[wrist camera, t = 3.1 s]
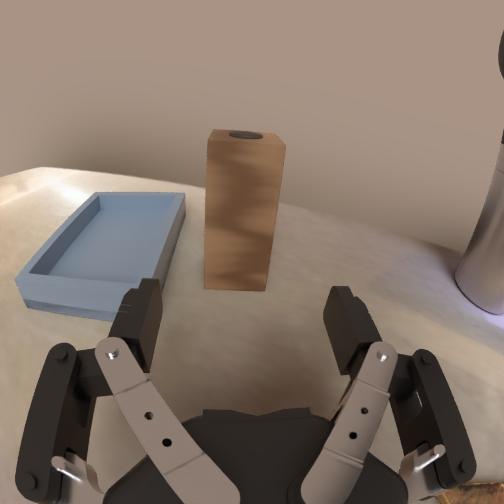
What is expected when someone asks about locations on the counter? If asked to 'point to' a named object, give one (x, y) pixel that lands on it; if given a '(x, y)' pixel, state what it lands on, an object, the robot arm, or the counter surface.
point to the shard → (474, 494)
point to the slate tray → (104, 253)
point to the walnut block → (241, 207)
